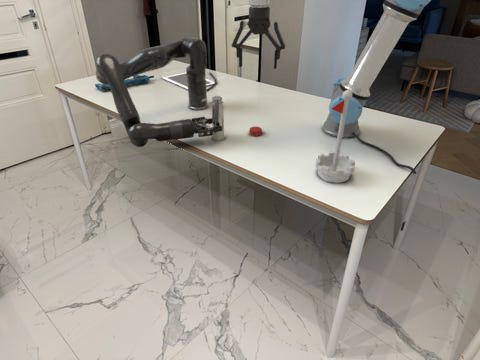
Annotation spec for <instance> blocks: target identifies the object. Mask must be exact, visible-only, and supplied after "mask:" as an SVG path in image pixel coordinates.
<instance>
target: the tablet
mask: <svg viewBox="0 0 480 360" xmlns="http://www.w3.org/2000/svg"><path fill="white" fill-rule="evenodd" d="M161 79H162V80H165V81H167V82H168V83H171V84H174V85H176V86H179V87H181V88H182V89H185V90H187V91H188V85H187V74H186V71H185V72H181V73H175V74H171V75H167V76H162V77H161ZM214 84H215V81H213V80H211V79H208V78H206V87H210V86H213V85H214ZM216 84H218V82H216ZM216 84H215V85H216Z"/></svg>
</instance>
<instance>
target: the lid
mask: <svg viewBox="0 0 480 360" xmlns="http://www.w3.org/2000/svg"><path fill="white" fill-rule="evenodd" d="M248 132H249V133H248V134H249V135H250V136H252V137H259V136H262V133H263V129H262V127H260V126H251V127H250V128H249V130H248Z"/></svg>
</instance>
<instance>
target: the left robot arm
mask: <svg viewBox="0 0 480 360" xmlns="http://www.w3.org/2000/svg"><path fill="white" fill-rule="evenodd" d="M182 58H183V59H184V58H189V65H188V66H186V68H185V72H186V74H187V85H188V90H187V94H188V108H189V109H190V110H194V111H199V110H205V109H207V108H208V93H207V91H209V90H211V89H213V88H214V87H215V85H216V83H217V79H216V77H215V76H214V75H213V74H212V73H211V72H209V74H210V75H211V77H212V78H213V80H214V82H215V84H213V85H210V86H209V88H207V86H206V79H207V76H206V74H207V73H206V69H207V65H208V61H207V60H208V59H207V58H208V55H207V45H206V43H205V41H204V40H202V39H201V38H197V37H193V36H188V37H185V38H182V39H179V40H177V41H174V42H171V43H166V44H161V45H155V46H152V47H147V48H144V49H142V50H140V51H138V52H137V53H135V54H134V55H133V56H131V57H130V58H128V59H127V60H124V61H123V62H120V61H119V60H118V58H117V57H116V56H114V54H110V53H102V54H99V56H98V57H97V58H96V60H95V78H96V80H97V81H98V82H99V84H106V85H109V86H110V88H111V89H110V91H111V95H112V98H113V103H114V105H115V109H116V111H117V113H118V116H119V118H120V120H121V122H122V123H123V126H124V128H125V131H126V133H127V136H128V139H129V142H130V143H131V144H132V145H133V146H135V147H137V148H143V147H144V146H146V145H147V143H148V142H149V140H156V141H157V142H164V141H165V142H166V141H176V140H177V141H178V140H185V139H192V138H194V137H195V135H196V134H197V137H198V138H205V137H213V133H214V132H220V131H222V126H215V127H212V126H209V125H212V117H211V118H210V117H209V118H207V117H205V116H200V117H199V116H198V117H194V118H186V119H178V120H172V121H168V122H159V123H152V122H141V121H142V120H141V117H140V114H139V112H138V109H137V107H136V105H135V103H134V101H133V98H132V96H131V94H130V92H129V89H128V87H127V86H126V84H125V81H124V80H126V79H131V78H133V76H135V75H142V74H145V73H148V72H153V71H156V70H159V69H162V68H165V67H166V66H168V65H170V63H172V62H173V61H176V60H178V59H182Z"/></svg>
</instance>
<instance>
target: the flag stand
mask: <svg viewBox="0 0 480 360" xmlns="http://www.w3.org/2000/svg"><path fill="white" fill-rule="evenodd" d="M342 97H343V99H344V100H343V101H342V102H340V103H339V104H337V105H336V106H334V107H333V108H331V109H333V110H335V111H337V112H339V113H342V114H341V120H340V126H339V132H338V137H336V143H335V144H336V145H335V149H334V151H328V152H327V154H325V153H322V152H321V153H320V154H318V155H317V158H316V160H315V168H316V169H317V175H318V177H319V178H321V179H322V180H324V181H326V182H329V183H344V182H346V181H348V180H349V179H350V177H351V175H352V174H353V173H354V172H355V167H356V161H355V159H354V158H353V159H352V158H351V159H350V155H348V154H346V153H342V154H341V155H340V152H341V147H342V141H343V138H342V136H343V131H344V125H345V120H346V114H347V109H348V103H349V99H351V98H352V92H351V91H349V90H346V91H344V92H343V95H342Z"/></svg>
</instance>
